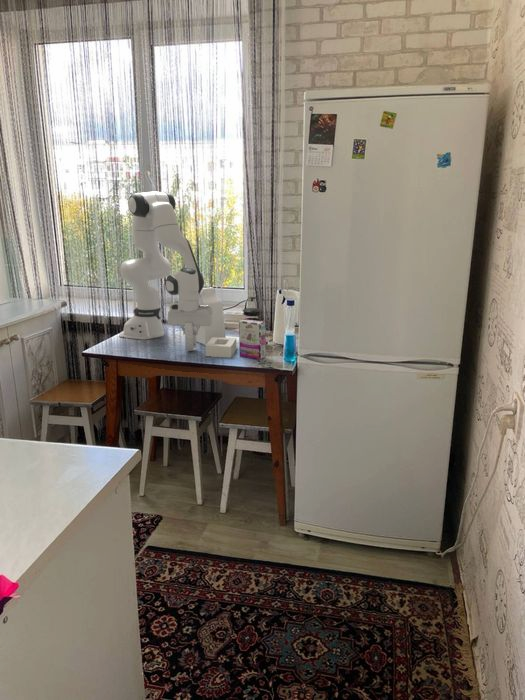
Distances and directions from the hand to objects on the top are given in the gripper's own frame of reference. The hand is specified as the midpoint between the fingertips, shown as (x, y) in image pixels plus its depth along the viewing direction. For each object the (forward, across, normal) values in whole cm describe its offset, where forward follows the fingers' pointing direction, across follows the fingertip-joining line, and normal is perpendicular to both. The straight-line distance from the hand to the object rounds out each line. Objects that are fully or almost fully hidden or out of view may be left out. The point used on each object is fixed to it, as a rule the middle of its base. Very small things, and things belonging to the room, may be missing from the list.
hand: (190, 334), depth 238 cm
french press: (+8, -26, -14) cm, 31 cm away
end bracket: (+7, 0, 0) cm, 7 cm away
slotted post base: (+8, -14, 0) cm, 16 cm away
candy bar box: (+8, -29, +5) cm, 31 cm away
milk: (+8, -4, -19) cm, 21 cm away
